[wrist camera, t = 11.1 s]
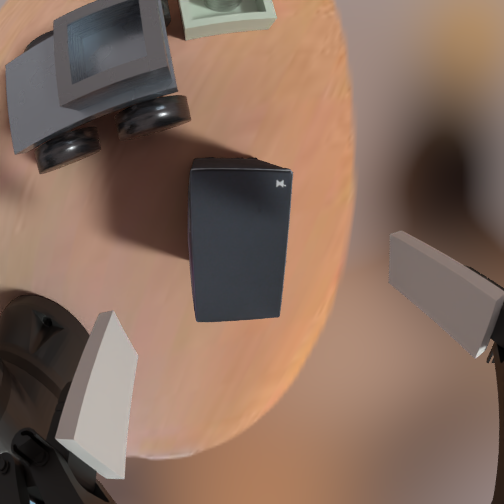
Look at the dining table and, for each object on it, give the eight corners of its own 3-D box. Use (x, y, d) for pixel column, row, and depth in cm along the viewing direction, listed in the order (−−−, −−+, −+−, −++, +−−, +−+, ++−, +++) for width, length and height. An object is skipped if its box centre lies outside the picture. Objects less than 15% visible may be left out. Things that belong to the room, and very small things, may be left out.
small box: (188, 157, 24) (185, 164, 15) (258, 157, 25) (298, 166, 16) (191, 264, 28) (192, 326, 18) (254, 261, 29) (284, 319, 20)
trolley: (58, 169, 21) (-7, 189, 12) (41, 65, 17) (-18, 42, 7) (191, 122, 23) (189, 106, 13) (170, 15, 18) (161, -46, 8)
